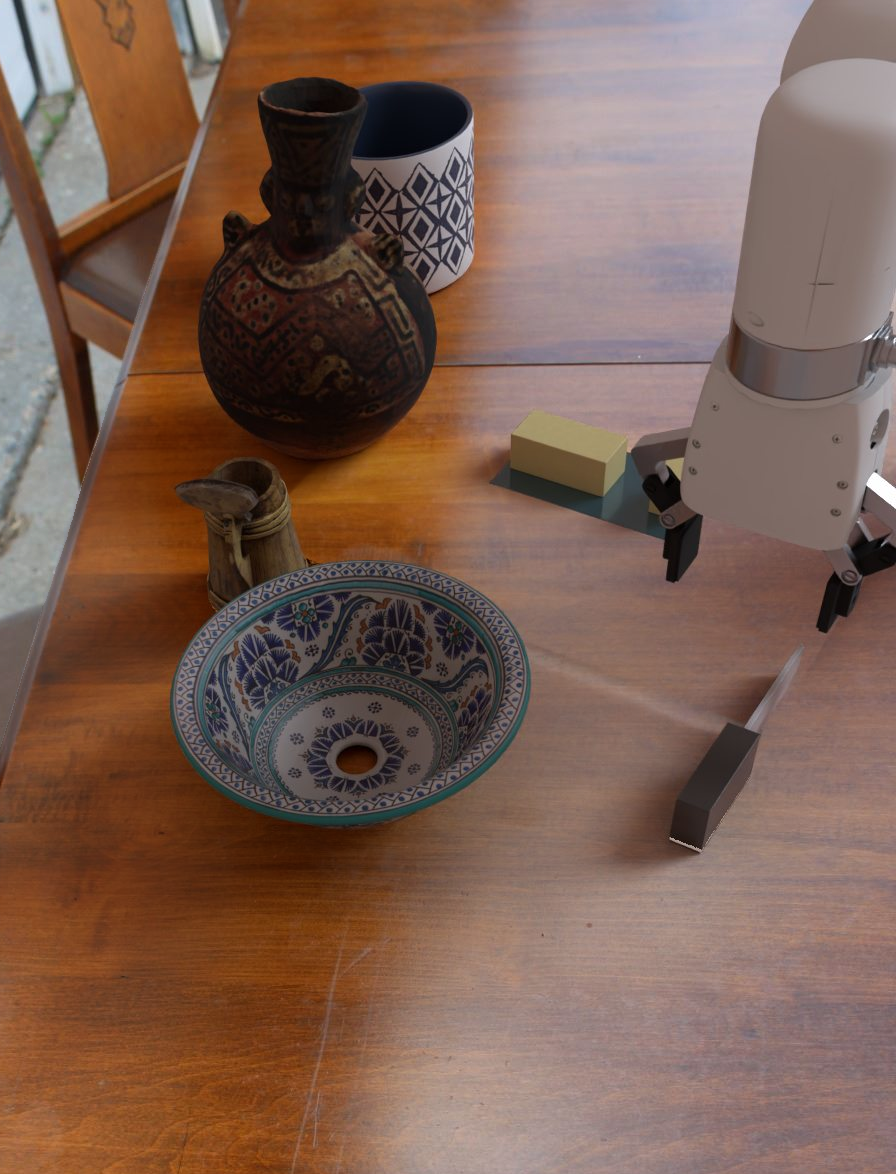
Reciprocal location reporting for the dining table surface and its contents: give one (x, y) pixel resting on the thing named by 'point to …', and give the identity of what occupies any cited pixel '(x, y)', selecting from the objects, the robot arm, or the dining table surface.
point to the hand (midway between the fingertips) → (754, 592)
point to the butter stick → (568, 452)
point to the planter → (419, 175)
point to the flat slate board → (592, 498)
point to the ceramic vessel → (314, 292)
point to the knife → (726, 767)
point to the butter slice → (677, 469)
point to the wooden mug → (244, 526)
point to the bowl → (350, 692)
